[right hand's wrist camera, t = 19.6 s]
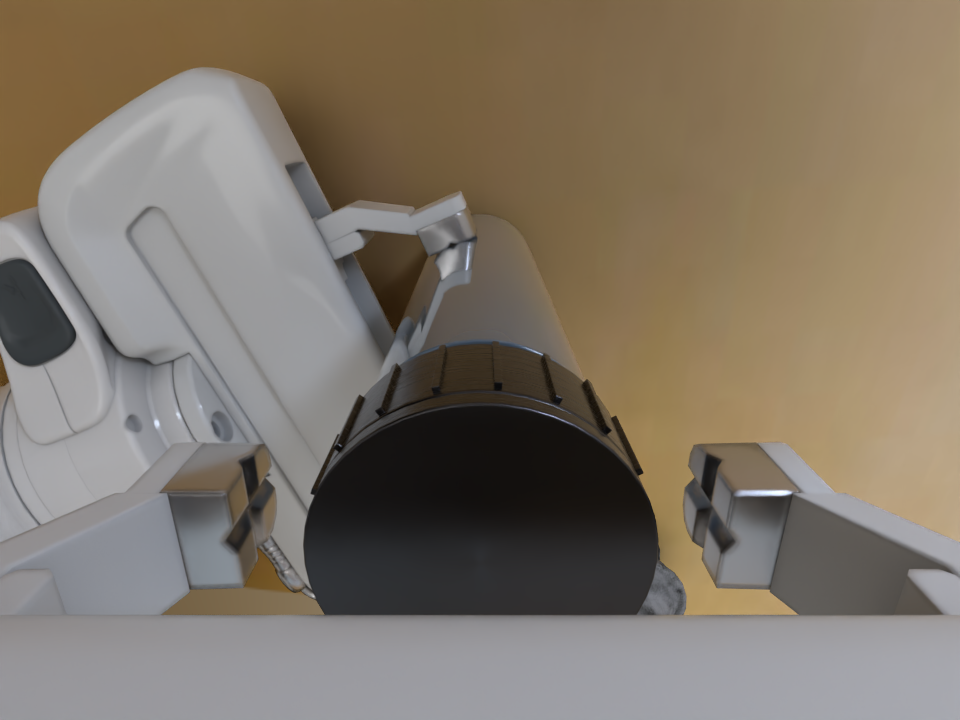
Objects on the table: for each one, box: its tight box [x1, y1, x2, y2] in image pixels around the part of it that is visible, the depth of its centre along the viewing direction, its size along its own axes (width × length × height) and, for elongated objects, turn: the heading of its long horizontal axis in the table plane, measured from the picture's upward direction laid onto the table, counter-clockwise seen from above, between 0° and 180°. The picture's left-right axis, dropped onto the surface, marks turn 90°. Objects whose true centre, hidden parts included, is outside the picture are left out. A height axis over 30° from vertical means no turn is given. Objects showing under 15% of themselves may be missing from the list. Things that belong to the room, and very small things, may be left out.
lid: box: [303, 341, 658, 615], centre depth 9 cm, size 5×5×2 cm
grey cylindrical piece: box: [374, 214, 585, 385], centre depth 17 cm, size 5×5×18 cm
